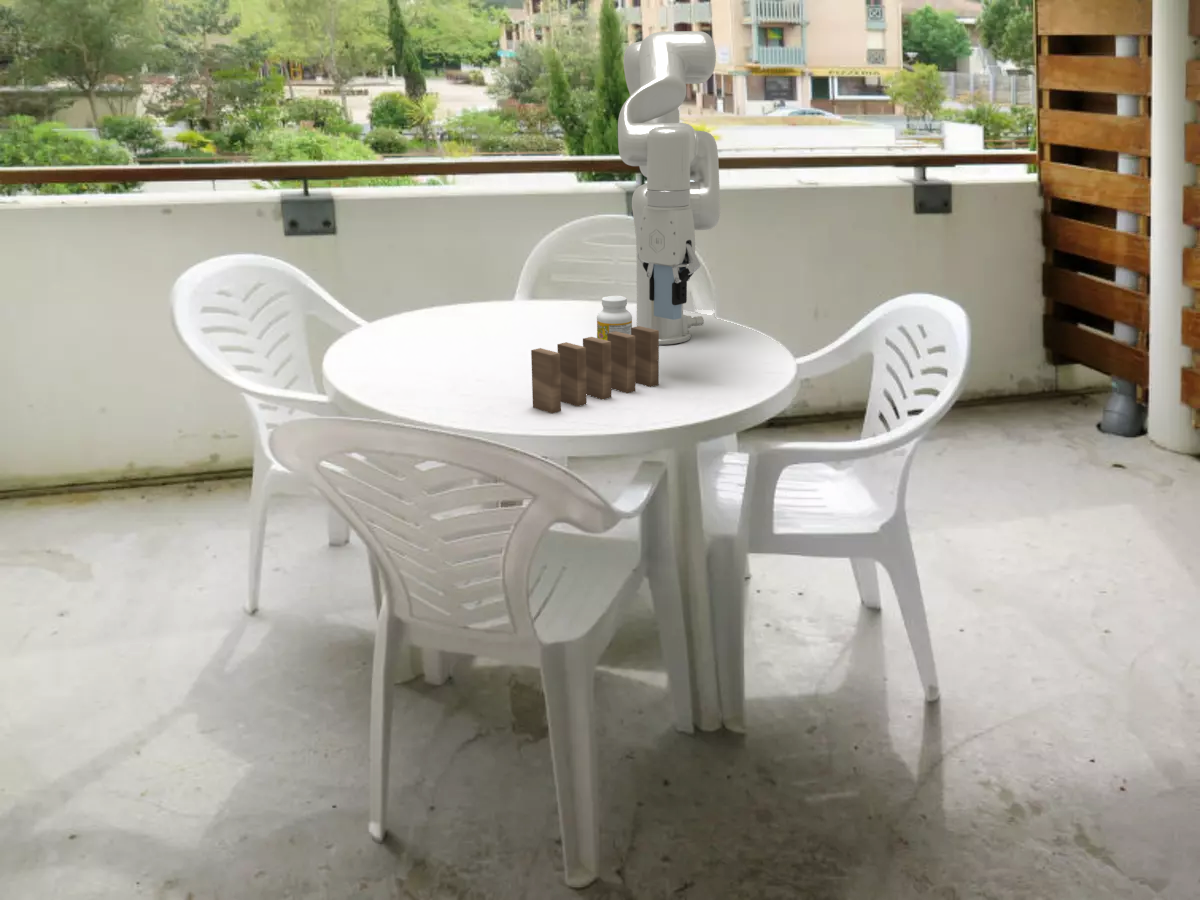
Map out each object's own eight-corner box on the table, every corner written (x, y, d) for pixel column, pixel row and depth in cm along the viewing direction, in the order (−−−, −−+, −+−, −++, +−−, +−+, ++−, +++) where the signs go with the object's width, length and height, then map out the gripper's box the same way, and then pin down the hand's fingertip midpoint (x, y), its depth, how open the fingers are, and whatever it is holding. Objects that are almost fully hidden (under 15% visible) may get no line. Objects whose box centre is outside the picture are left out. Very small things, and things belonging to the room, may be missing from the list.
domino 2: (567, 398, 225) (566, 342, 222) (586, 404, 222) (585, 347, 219) (558, 400, 224) (557, 344, 221) (577, 406, 220) (576, 349, 217)
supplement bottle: (595, 360, 250) (595, 295, 246) (630, 359, 250) (629, 293, 246) (599, 369, 243) (598, 302, 239) (634, 368, 244) (633, 301, 240)
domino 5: (639, 379, 236) (639, 326, 233) (658, 384, 233) (658, 330, 230) (631, 381, 235) (631, 327, 232) (650, 387, 231) (650, 332, 228)
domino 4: (616, 385, 233) (615, 331, 229) (635, 391, 229) (635, 335, 226) (607, 387, 231) (607, 333, 228) (627, 393, 228) (626, 337, 225)
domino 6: (661, 314, 236) (661, 259, 233) (681, 318, 233) (681, 262, 230) (653, 315, 235) (653, 260, 232) (673, 319, 231) (673, 264, 228)
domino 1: (541, 405, 221) (540, 348, 218) (560, 410, 218) (559, 353, 215) (532, 407, 220) (531, 350, 217) (551, 413, 217) (550, 355, 214)
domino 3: (592, 391, 229) (591, 336, 226) (611, 397, 225) (610, 341, 222) (583, 394, 228) (582, 338, 224) (602, 399, 224) (602, 343, 221)
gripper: (619, 197, 231) (620, 298, 236) (688, 205, 219) (687, 311, 225) (649, 193, 236) (649, 292, 241) (718, 201, 224) (717, 305, 229)
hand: (667, 300), depth 233 cm, fingers closed on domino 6, 4 cm apart
